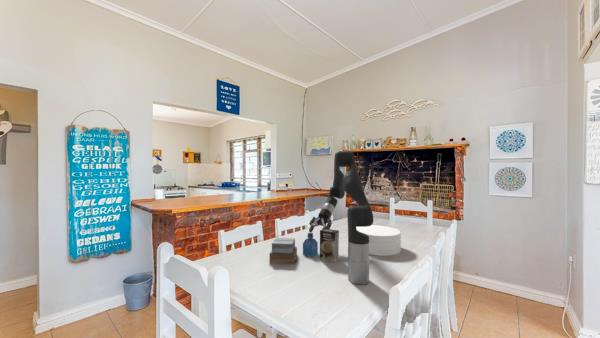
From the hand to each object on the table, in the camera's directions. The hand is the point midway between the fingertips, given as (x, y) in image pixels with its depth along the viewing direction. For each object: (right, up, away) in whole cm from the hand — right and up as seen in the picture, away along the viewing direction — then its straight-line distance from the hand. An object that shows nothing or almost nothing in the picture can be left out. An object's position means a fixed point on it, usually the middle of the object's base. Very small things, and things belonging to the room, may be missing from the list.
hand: (315, 233), depth 151 cm
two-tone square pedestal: (-18, -11, -12) cm, 25 cm away
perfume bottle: (-3, -11, -4) cm, 12 cm away
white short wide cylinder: (+39, -12, +8) cm, 42 cm away
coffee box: (+7, -11, -13) cm, 18 cm away
